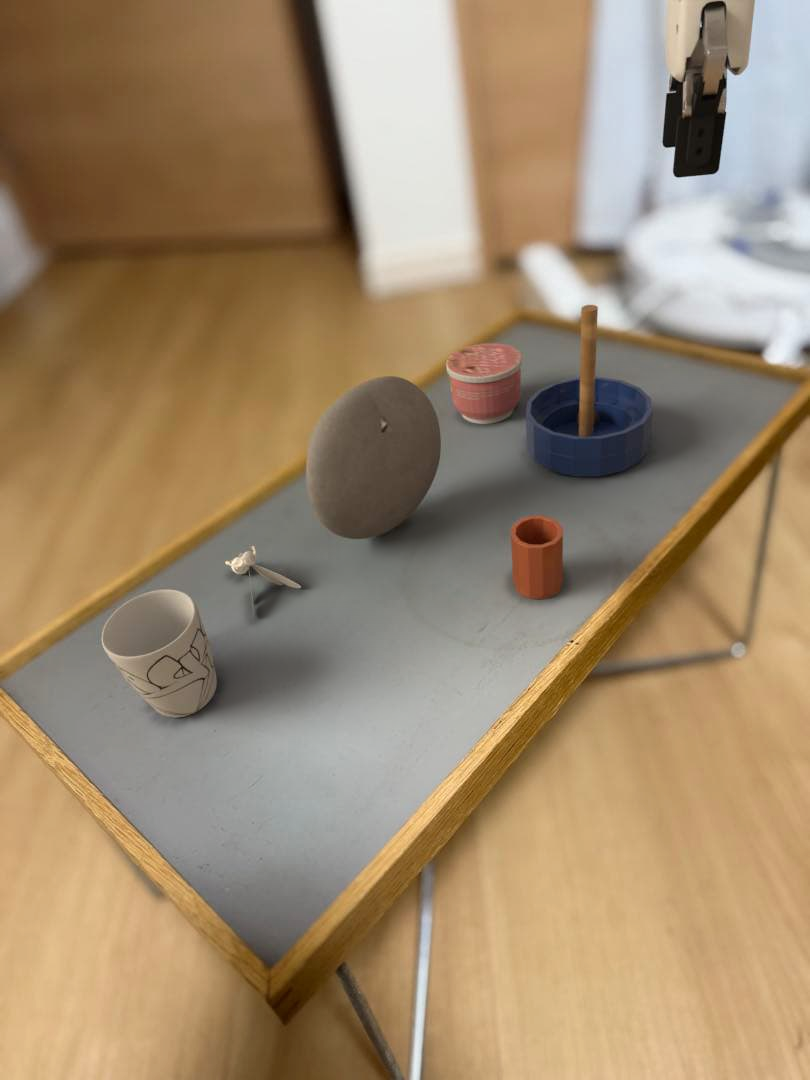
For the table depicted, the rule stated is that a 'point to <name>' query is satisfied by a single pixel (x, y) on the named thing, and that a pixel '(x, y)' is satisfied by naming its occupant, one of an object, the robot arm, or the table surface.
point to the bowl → (613, 438)
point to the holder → (537, 556)
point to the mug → (163, 651)
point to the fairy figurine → (258, 569)
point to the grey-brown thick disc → (372, 457)
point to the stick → (587, 369)
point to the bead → (596, 418)
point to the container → (485, 381)
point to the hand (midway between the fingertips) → (688, 159)
